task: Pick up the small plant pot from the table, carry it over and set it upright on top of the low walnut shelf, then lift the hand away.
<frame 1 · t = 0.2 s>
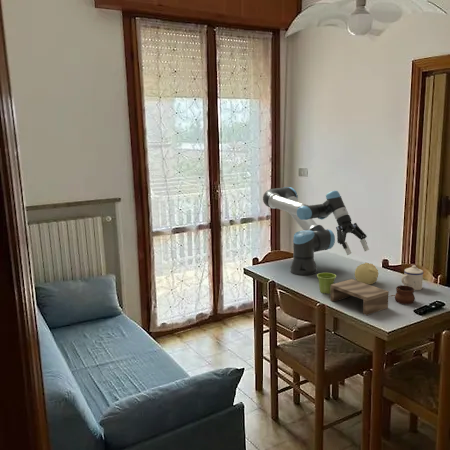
hand: (358, 252, 242), 15 cm above the table, tool tilted 35°, fingers open, 13 cm apart
ceramic pot: (404, 302, 213), on the table
plant pot: (326, 292, 228), on the table
teacup with lid: (410, 288, 230), on the table
walnut shelf: (358, 304, 211), on the table
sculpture: (366, 283, 240), on the table
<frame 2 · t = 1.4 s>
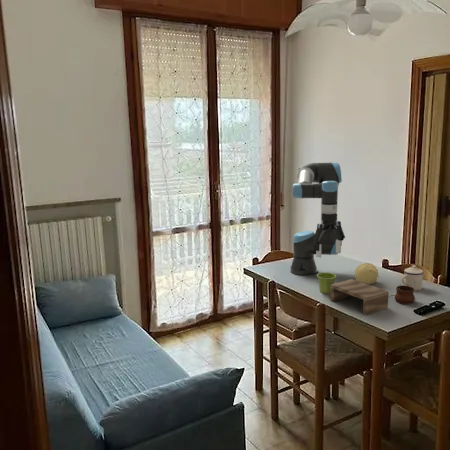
hand: (328, 255, 225), 19 cm above the table, tool pointing down, fingers open, 13 cm apart
nothing on the table moved.
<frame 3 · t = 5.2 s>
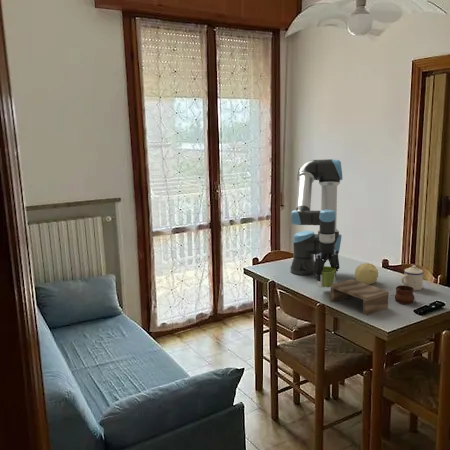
hand: (326, 284, 228), 3 cm above the table, tool pointing down, fingers closed on plant pot, 8 cm apart
plant pot: (326, 285, 228), point 3 cm above the table, touching gripper
everything else where it was.
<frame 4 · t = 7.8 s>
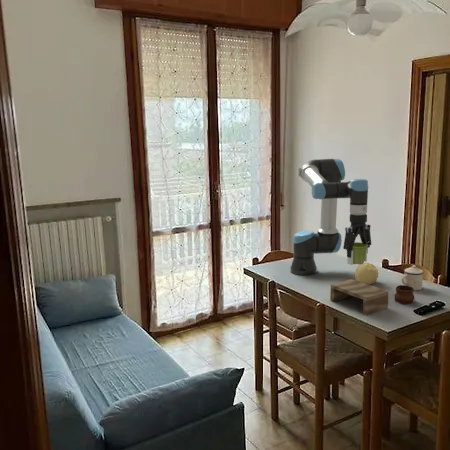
hand: (357, 262, 208), 20 cm above the table, tool pointing down, fingers closed on plant pot, 8 cm apart
plant pot: (356, 263, 208), point 19 cm above the table, touching gripper
everything else where it was.
when the fingers open (10 cm above the table, at t = 10.6 s): plant pot drops 1 cm, resting on walnut shelf.
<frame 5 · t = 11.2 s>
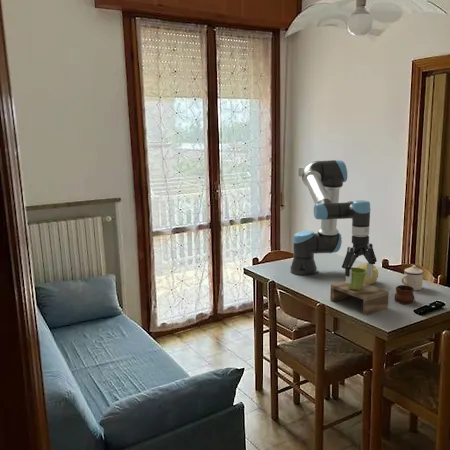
hand: (359, 280, 208), 12 cm above the table, tool pointing down, fingers open, 13 cm apart
plant pot: (355, 288, 208), point 8 cm above the table, touching gripper, walnut shelf
everything else where it was.
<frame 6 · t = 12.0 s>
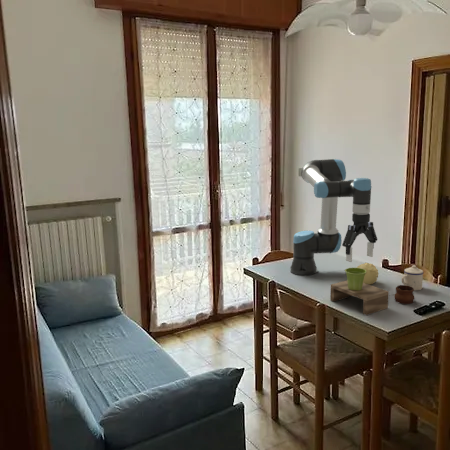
hand: (359, 258, 207), 22 cm above the table, tool pointing down, fingers open, 13 cm apart
plant pot: (355, 289, 208), point 8 cm above the table, touching walnut shelf
everything else where it was.
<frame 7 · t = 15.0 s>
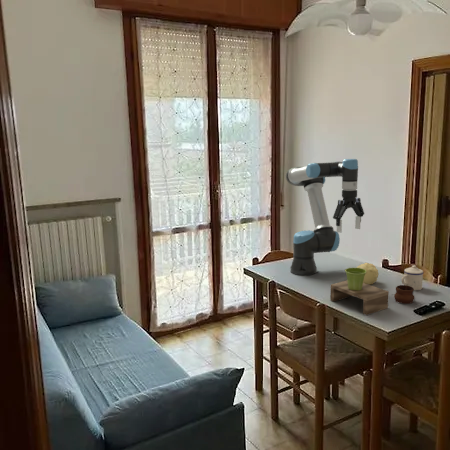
hand: (348, 230, 234), 29 cm above the table, tool pointing down, fingers open, 13 cm apart
nothing on the table moved.
at the end: plant pot inside the target area on the walnut shelf (2.2 cm from its centre), point 7.8 cm above the walnut shelf's base; plant pot tilted 0°; the gripper is holding nothing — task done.
